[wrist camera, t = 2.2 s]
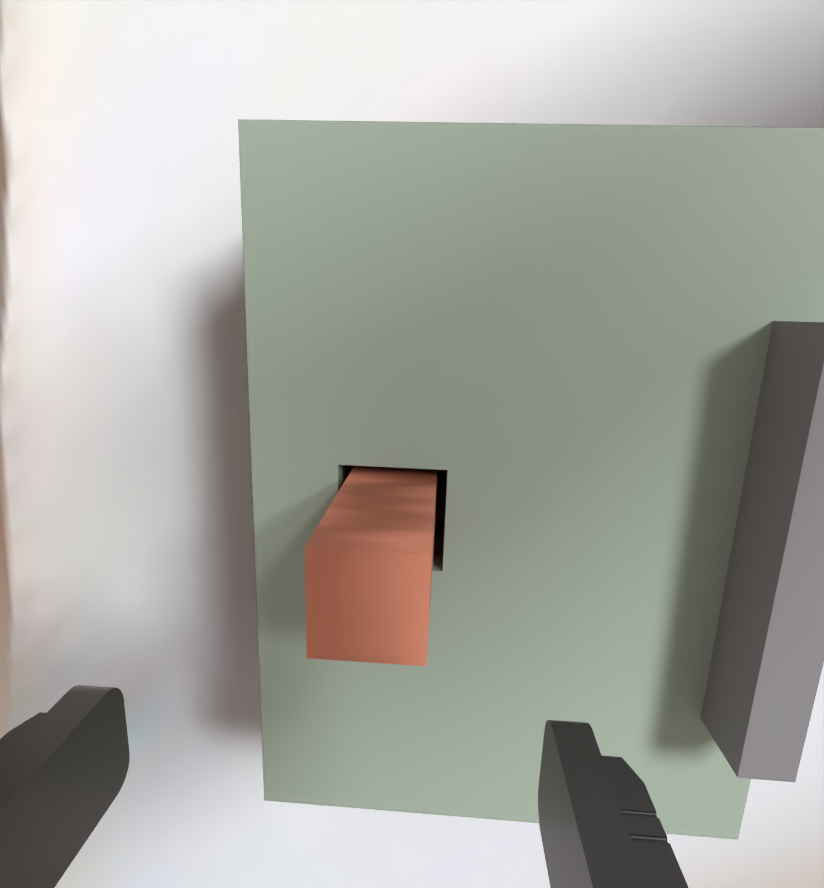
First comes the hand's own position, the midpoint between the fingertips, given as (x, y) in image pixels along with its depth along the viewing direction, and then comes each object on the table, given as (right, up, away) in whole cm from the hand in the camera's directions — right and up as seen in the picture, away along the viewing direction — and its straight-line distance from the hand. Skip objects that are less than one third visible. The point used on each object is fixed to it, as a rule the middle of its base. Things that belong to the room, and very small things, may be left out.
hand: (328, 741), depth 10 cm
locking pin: (+1, +4, +16) cm, 17 cm away
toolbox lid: (+6, +3, +12) cm, 14 cm away
